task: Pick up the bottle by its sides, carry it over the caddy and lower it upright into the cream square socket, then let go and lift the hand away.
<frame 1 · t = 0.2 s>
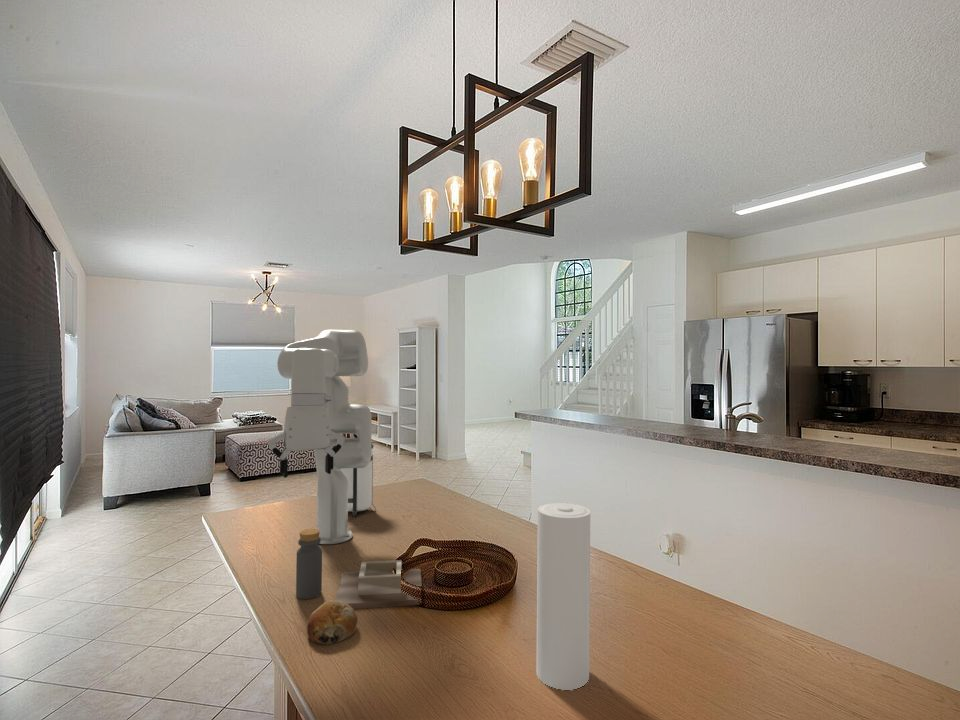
hand: (306, 474, 119), 30 cm above the table, tool pointing down, fingers open, 9 cm apart
coffee press: (353, 513, 191), on the table
caddy: (380, 589, 126), on the table
cylinder container: (562, 675, 92), on the table
bread roll: (332, 634, 106), on the table
bottle: (308, 594, 123), on the table
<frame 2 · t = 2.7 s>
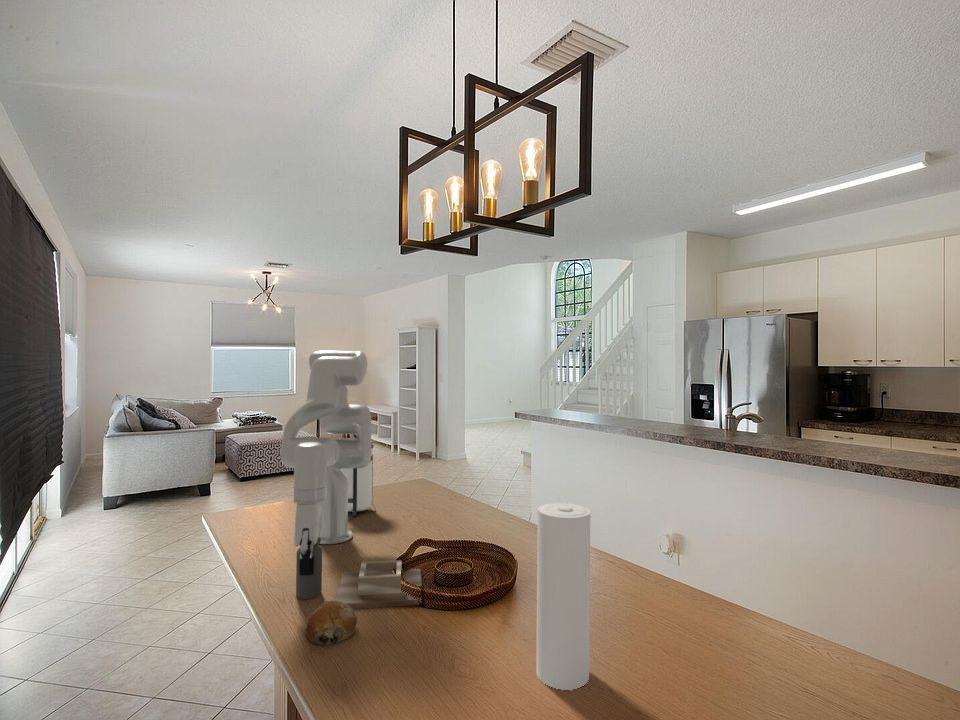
hand: (309, 568, 123), 6 cm above the table, tool pointing down, fingers closed on bottle, 5 cm apart
bottle: (308, 594, 123), on the table, touching gripper
everything else where it was.
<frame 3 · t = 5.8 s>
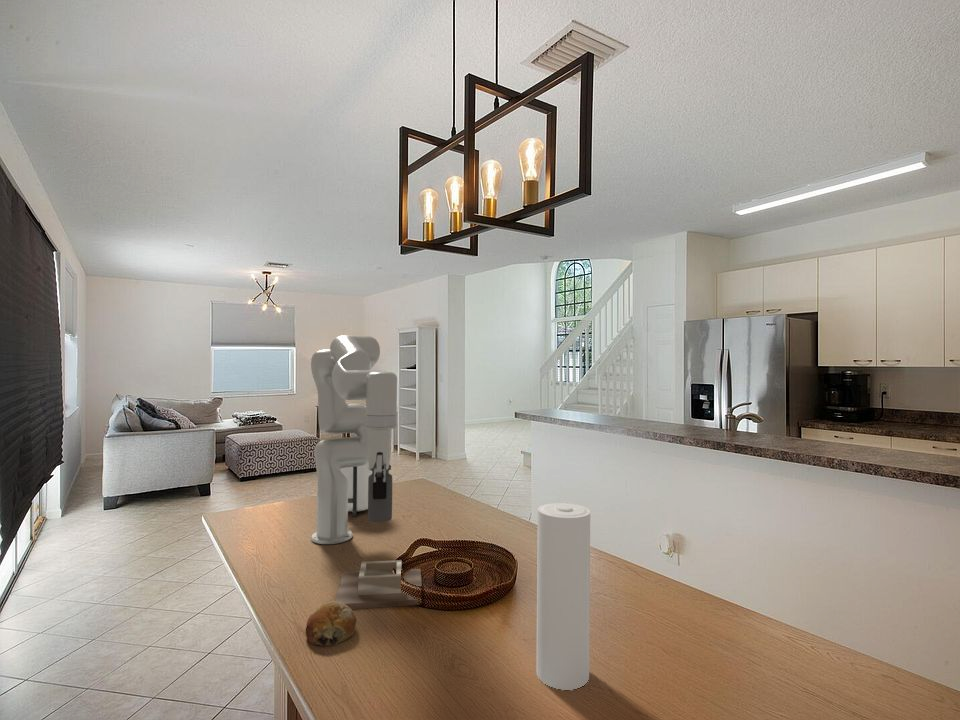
hand: (380, 494, 126), 23 cm above the table, tool pointing down, fingers closed on bottle, 5 cm apart
bottle: (379, 520, 126), point 17 cm above the table, touching gripper
everything else where it was.
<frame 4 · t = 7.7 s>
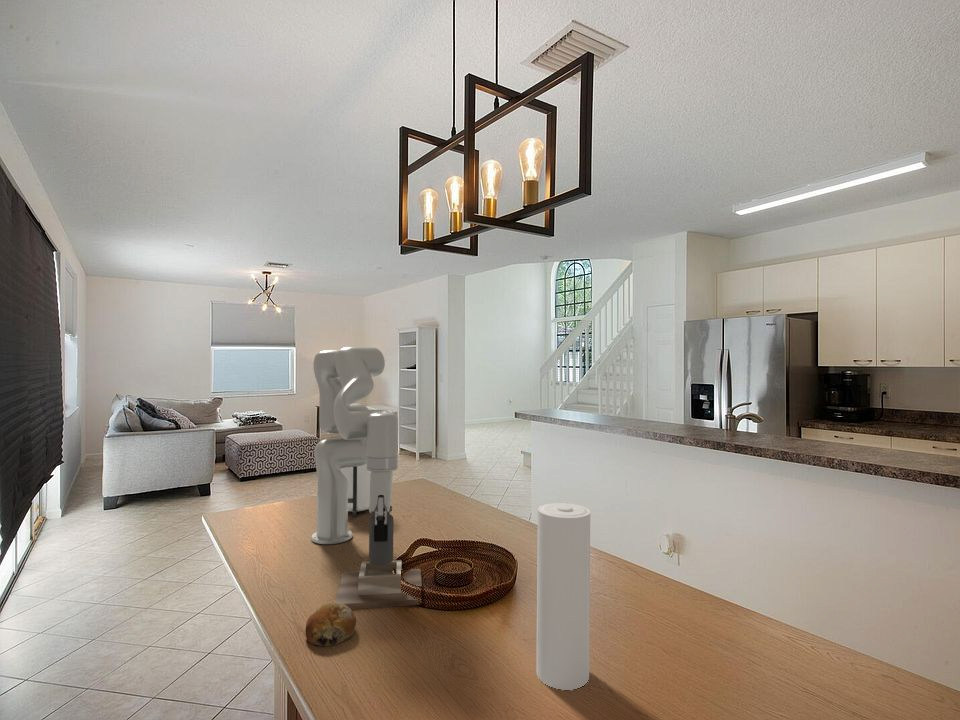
hand: (381, 535, 126), 13 cm above the table, tool pointing down, fingers closed on bottle, 5 cm apart
bottle: (381, 561, 126), point 7 cm above the table, touching gripper
everything else where it was.
when the fingers open (9 cm above the table, at t = 9.1 s): bottle drops 1 cm, resting on caddy.
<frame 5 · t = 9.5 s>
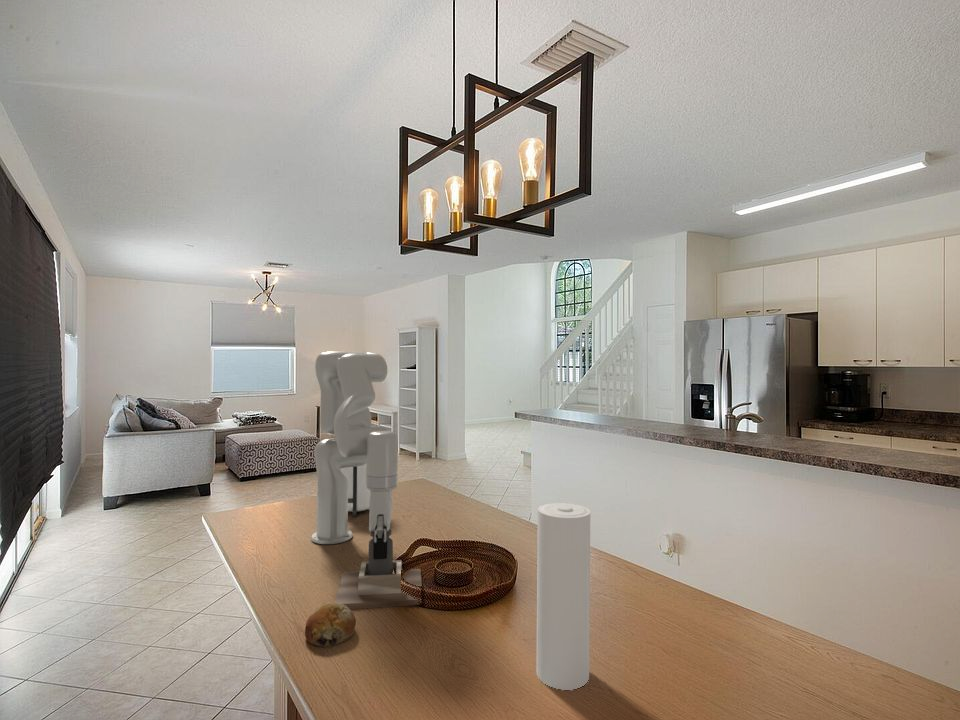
hand: (381, 551, 126), 9 cm above the table, tool pointing down, fingers open, 9 cm apart
bottle: (380, 585, 126), point 1 cm above the table, touching caddy
everything else where it was.
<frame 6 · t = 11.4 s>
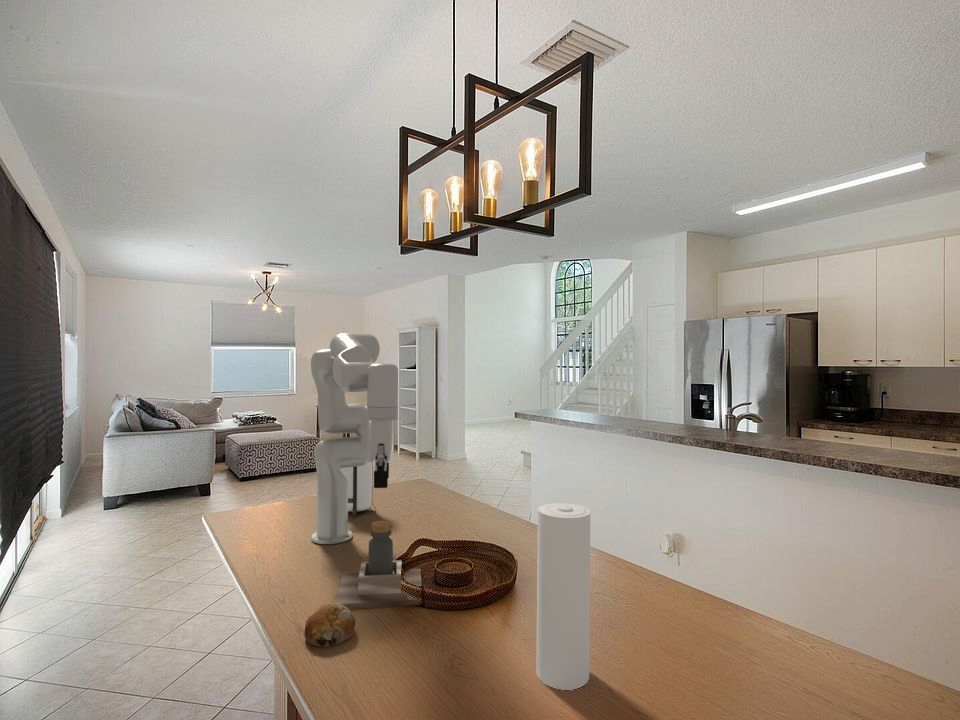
hand: (381, 483, 126), 26 cm above the table, tool pointing down, fingers open, 9 cm apart
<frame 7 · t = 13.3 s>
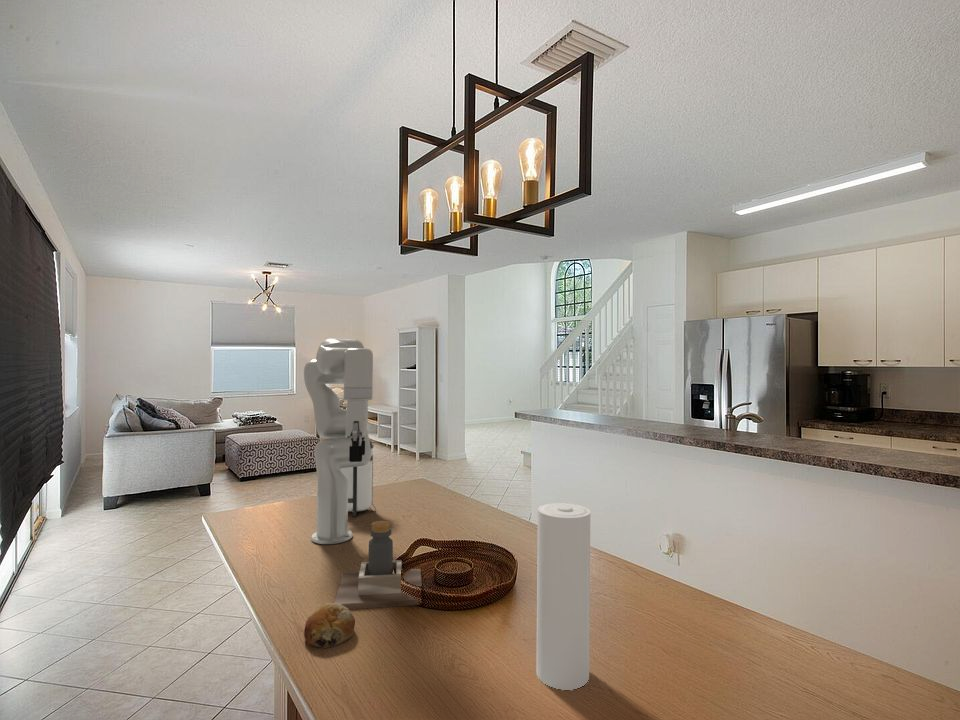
hand: (357, 458, 137), 30 cm above the table, tool pointing down, fingers open, 9 cm apart
at the end: bottle 0.5 cm off-centre on the caddy, point 1.0 cm above the caddy's base; bottle tilted 0°; the gripper is holding nothing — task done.
